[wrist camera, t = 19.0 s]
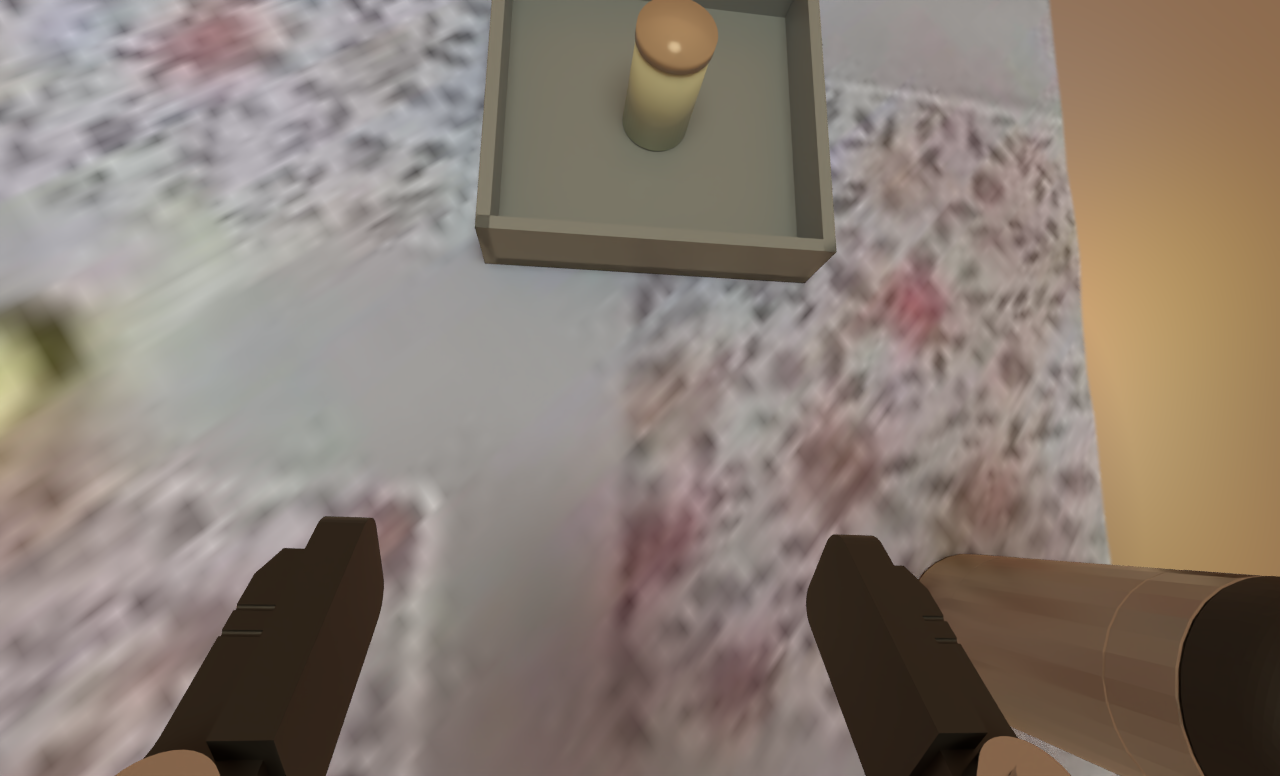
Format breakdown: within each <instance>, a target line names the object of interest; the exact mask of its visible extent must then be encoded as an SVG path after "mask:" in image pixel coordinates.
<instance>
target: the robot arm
mask: <svg viewBox="0 0 1280 776" xmlns="http://www.w3.org/2000/svg"><path fill="white" fill-rule="evenodd" d="M383 591H384V579H383V571H382V564H381V557H380V549H379V542H378V535H377V528H376V523H375V520H374V519H373V518H362V517H331V516H325V517H323V518H322V519H321V520H320V521H319V523H318V524H317V526H316V528H315V530H314V532H313V534H312V536H311V538H310V540H309V542H308V544H307V546H306V548H305V549H293V548H283V549H282V550H281V551H280V552H279V553H278V554H277V555H275V556H274V557H273V558H272V559H271V560H270V561H269V562H268V563H266V564H265V565H264V566H263V567H262V568H261V569H260V570H258V571H257V572H256V573H255V574H254V576H253V578H252V579H251V581H250V583H249V584H248V586H247V588H246V590H245V591H244V593H243V595H242V596H241V598H240V600H239V602H238V603H237V609H236V610H233V612H232V614H231V615H230V617H229V619H228V621H227V622H226V624H225V626H224V627H223V629H222V635H221V636H218V638H217V639H216V641H215V643H214V645H213V646H212V648H211V650H210V651H209V653H208V655H207V657H206V658H205V660H204V662H203V664H202V665H201V667H200V669H199V670H198V672H197V674H196V676H195V677H194V679H193V681H192V682H191V684H190V686H189V688H188V689H187V691H186V693H185V695H184V696H183V698H182V700H181V701H180V703H179V705H178V707H177V708H176V710H175V712H174V713H173V715H172V717H171V719H170V720H169V722H168V724H167V725H166V727H165V729H164V731H163V732H162V734H161V736H160V737H159V739H158V740H157V742H156V743H155V745H154V746H153V748H152V749H151V750H150V751H149V753H148V754H147V755H146V756H145V757H144V759H142V760H140V761H138V762H136V763H134V764H132V765H131V766H129V767H127V768H126V769H124V770H122V771H121V772H119V773H118V774H117V775H115V776H326V773H327V770H328V767H329V764H330V761H331V758H332V755H333V752H334V749H335V746H336V743H337V740H338V737H339V734H340V731H341V728H342V726H343V723H344V720H345V717H346V714H347V711H348V708H349V705H350V702H351V699H352V696H353V693H354V690H355V687H356V684H357V681H358V678H359V675H360V672H361V669H362V666H363V663H364V660H365V657H366V654H367V651H368V648H369V645H370V642H371V639H372V636H373V633H374V630H375V627H376V624H377V621H378V618H379V614H380V611H381V606H382V600H383ZM806 609H807V616H808V621H809V624H810V627H811V630H812V632H813V635H814V638H815V640H816V643H817V646H818V648H819V651H820V654H821V657H822V659H823V662H824V665H825V667H826V670H827V673H828V675H829V678H830V681H831V684H832V686H833V689H834V692H835V694H836V697H837V700H838V702H839V705H840V708H841V710H842V713H843V716H844V719H845V721H846V724H847V727H848V729H849V732H850V735H851V737H852V740H853V743H854V745H855V748H856V751H857V754H858V756H859V759H860V762H861V764H862V767H863V770H864V772H865V775H866V776H1071V775H1070V774H1069V773H1068V772H1067V771H1066V770H1065V769H1064V768H1063V766H1062V765H1060V764H1059V763H1058V762H1057V761H1056V760H1055V759H1054V758H1053V757H1051V756H1050V755H1049V754H1047V753H1046V752H1045V751H1043V750H1042V749H1040V748H1038V747H1037V746H1035V745H1033V744H1031V743H1029V742H1027V741H1024V740H1021V739H1019V738H1018V737H1017V736H1016V735H1015V733H1014V732H1013V730H1012V729H1011V727H1013V728H1015V729H1017V730H1019V731H1022V732H1024V733H1026V734H1028V735H1031V736H1033V737H1035V738H1037V739H1040V740H1042V741H1044V742H1046V743H1048V744H1051V745H1053V746H1055V747H1057V748H1060V749H1062V750H1064V751H1066V752H1069V753H1071V754H1073V755H1075V756H1077V757H1080V758H1082V759H1084V760H1086V761H1089V762H1091V763H1093V764H1095V765H1098V766H1100V767H1102V768H1104V769H1106V770H1109V771H1111V772H1113V773H1115V774H1118V775H1120V776H1280V577H1276V576H1259V575H1246V574H1232V573H1218V572H1205V571H1192V570H1173V569H1160V568H1146V567H1133V566H1120V565H1107V564H1094V563H1081V562H1067V561H1054V560H1041V559H1028V558H1017V557H1004V556H990V555H977V554H959V555H954V556H950V557H947V558H945V559H943V560H941V561H939V562H937V563H935V564H934V565H933V566H932V567H931V568H929V569H928V570H927V571H926V572H925V573H924V574H923V576H922V577H921V579H920V580H918V579H917V578H916V577H915V576H914V575H913V574H912V573H911V572H909V571H908V570H907V569H906V568H905V567H904V566H894V565H893V563H892V561H891V559H890V558H889V556H888V554H887V552H886V550H885V549H884V547H883V545H882V543H881V542H880V541H879V540H878V538H876V537H875V536H865V535H832V536H831V537H830V538H829V539H828V541H827V543H826V545H825V548H824V550H823V553H822V555H821V558H820V560H819V563H818V565H817V568H816V570H815V573H814V575H813V578H812V580H811V583H810V585H809V588H808V591H807V598H806ZM1010 726H1011V727H1010Z"/></svg>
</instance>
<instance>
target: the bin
mask: <svg viewBox="0 0 1280 776" xmlns="http://www.w3.org/2000/svg"><path fill="white" fill-rule="evenodd" d="M650 1H651V0H492V6H491V20H490V33H489V46H488V60H487V73H486V86H485V100H484V113H483V126H482V140H481V153H480V166H479V180H478V193H477V206H476V220H475V229H476V233H477V236H478V240H479V243H480V247H481V250H482V254H483V257H484V261H485V263H490V264H506V265H522V266H538V267H554V268H571V269H587V270H603V271H619V272H635V273H652V274H668V275H684V276H700V277H716V278H733V279H749V280H765V281H781V282H797V283H805V282H806V281H807V280H808V279H809V278H810V277H811V276H812V275H813V274H814V273H815V272H816V271H817V270H818V269H819V268H820V267H822V266H823V265H824V264H825V263H826V262H827V261H828V260H829V259H830V258H831V257H832V256H833V255H834V254H835V253H836V239H835V224H834V210H833V196H832V181H831V167H830V152H829V138H828V124H827V109H826V95H825V80H824V66H823V52H822V37H821V23H820V9H819V0H692V1H694V2H696V3H698V4H699V5H701V6H702V7H703V8H705V9H706V10H707V11H708V12H709V14H710V15H711V16H712V18H713V19H714V21H715V23H716V26H717V29H718V42H717V45H716V48H715V51H714V54H713V57H712V59H711V61H710V62H709V64H708V67H707V70H706V73H705V76H704V79H703V82H702V85H701V88H700V91H699V94H698V97H697V100H696V103H695V106H694V109H693V112H692V115H691V118H690V121H689V125H688V128H687V131H686V134H685V136H684V138H683V140H682V141H681V142H680V143H679V144H678V145H677V146H675V147H673V148H671V149H669V150H665V151H652V150H648V149H645V148H642V147H640V146H639V145H637V144H636V143H634V142H633V141H632V140H631V139H630V138H629V137H628V135H627V134H626V132H625V130H624V127H623V121H622V118H623V111H624V105H625V99H626V93H627V87H628V81H629V75H630V70H631V64H632V58H633V52H634V46H635V29H636V23H637V18H638V15H639V13H640V11H641V9H642V8H643V7H644V6H645V5H646V4H647V3H648V2H650Z"/></svg>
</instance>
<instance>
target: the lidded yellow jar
mask: <svg viewBox="0 0 1280 776" xmlns="http://www.w3.org/2000/svg"><path fill="white" fill-rule="evenodd" d="M717 42H718V29H717V26H716V23H715V21H714V19H713V18H712V16H711V15H710V14H709V12H708V11H707V10H706V9H705V8H703V7H702V6H701V5H699V4H698V3H696V2H694V1H692V0H651V1H650V2H648V3H647V4H646V5H645V6H644V7H643V8H642V9H641V11H640V13H639V15H638V18H637V23H636V29H635V46H634V52H633V58H632V64H631V70H630V75H629V81H628V87H627V93H626V99H625V105H624V111H623V118H622V121H623V127H624V130H625V132H626V134H627V135H628V137H629V138H630V139H631V140H632V141H633V142H634V143H636V144H637V145H639V146H640V147H642V148H645V149H648V150H652V151H665V150H669V149H671V148H673V147H675V146H677V145H678V144H679V143H680V142H681V141H682V140H683V138H684V136H685V134H686V131H687V128H688V125H689V121H690V118H691V115H692V112H693V109H694V106H695V103H696V100H697V97H698V94H699V91H700V88H701V85H702V82H703V79H704V76H705V73H706V70H707V67H708V64H709V62H710V61H711V59H712V57H713V54H714V51H715V48H716V45H717Z"/></svg>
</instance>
